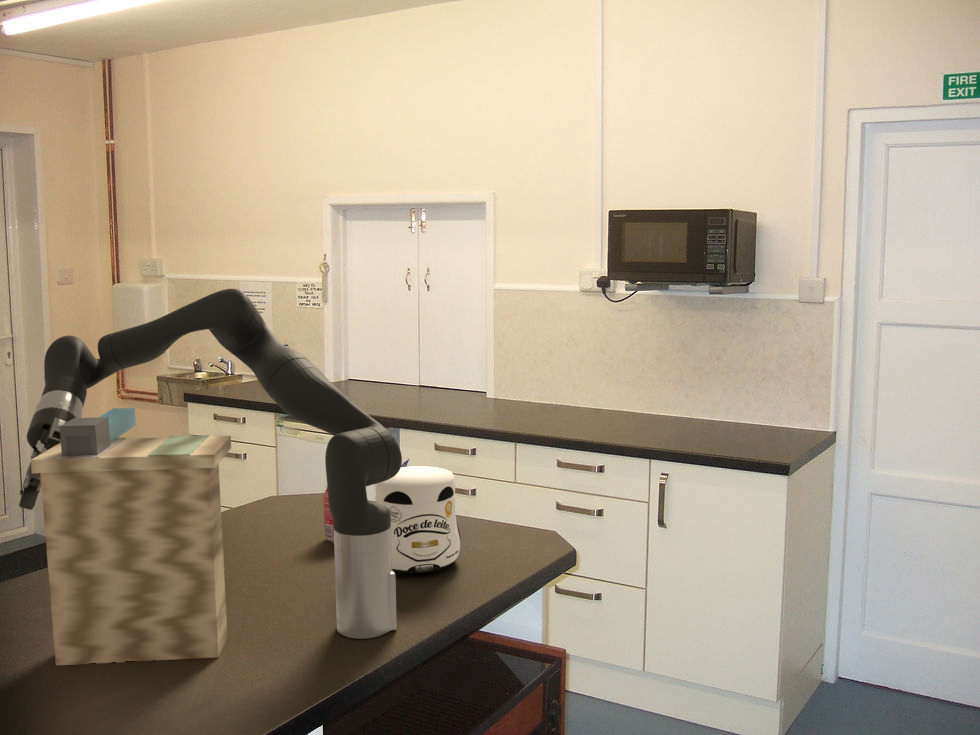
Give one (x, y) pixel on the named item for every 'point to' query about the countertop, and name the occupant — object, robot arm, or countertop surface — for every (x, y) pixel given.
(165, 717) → the countertop surface
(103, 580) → the wavy striped plinth
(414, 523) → the doce de leite tub
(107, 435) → the two-tone rectangular bar
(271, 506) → the countertop surface
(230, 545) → the countertop surface
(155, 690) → the countertop surface
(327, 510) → the soda can
